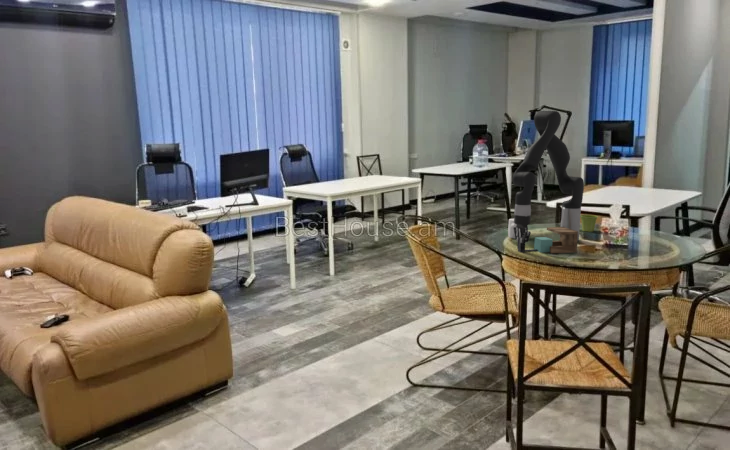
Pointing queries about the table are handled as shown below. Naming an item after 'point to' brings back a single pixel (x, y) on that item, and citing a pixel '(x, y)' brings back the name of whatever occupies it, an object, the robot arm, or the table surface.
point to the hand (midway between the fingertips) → (521, 249)
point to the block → (539, 244)
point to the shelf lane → (564, 240)
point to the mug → (511, 228)
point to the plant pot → (588, 222)
